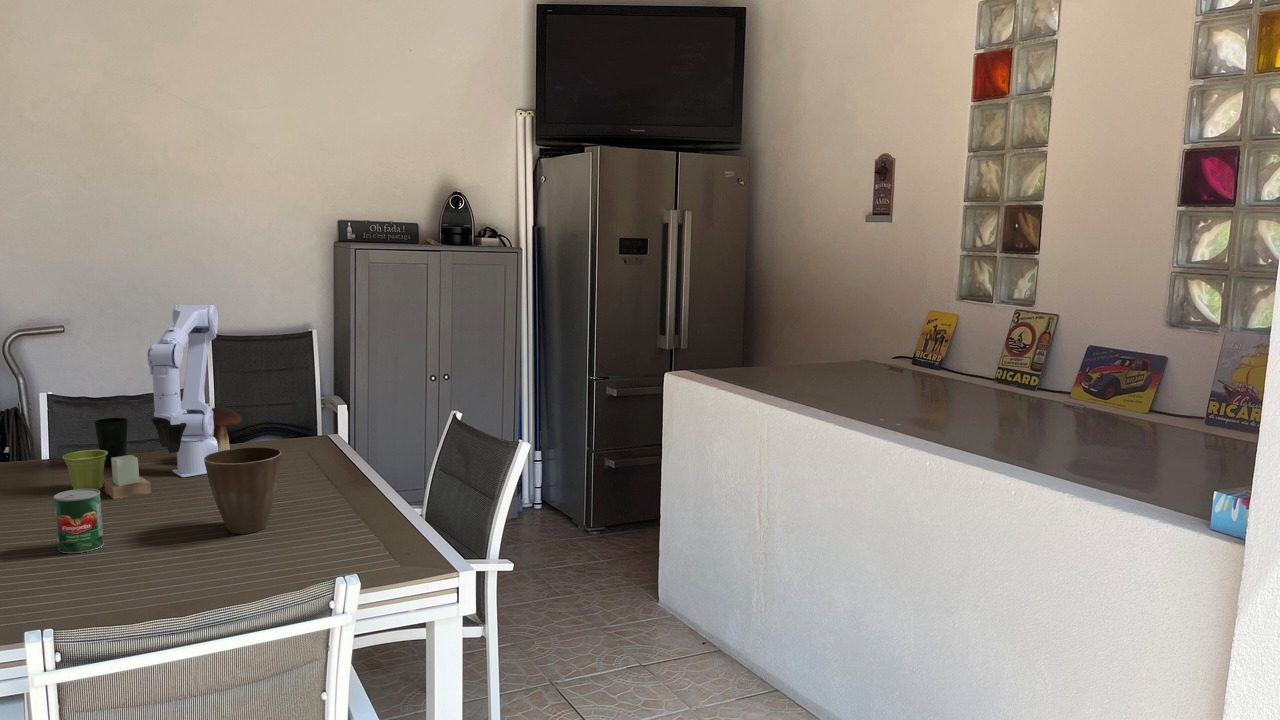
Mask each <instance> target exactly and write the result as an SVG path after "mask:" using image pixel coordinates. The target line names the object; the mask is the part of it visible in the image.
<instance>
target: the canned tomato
mask: <svg viewBox="0 0 1280 720" xmlns="http://www.w3.org/2000/svg"><path fill="white" fill-rule="evenodd" d="M53 502H54V503H53V504H54V506H53V507H54V512H55V513H54V514H55V517H54V518H55V527H56V530H55V531H56V539H57V540H56V541H57V551H58V550H59V551H61V552H67V553H75V552H84V551H90V550H94V549H98V548H100V547H101V548H103V547H104V546H105V543H104V534H103V533H104V531H103V518H102V504H101V503H102V502H101V491H100V489H98V490H96V489H76V490H73V489H70V490H66V491H65V490H64V491H61V492H59V493H56V494H54V496H53ZM103 545H104V546H103ZM102 546H103V547H102ZM101 548H100V549H101ZM98 550H99V549H98Z"/></svg>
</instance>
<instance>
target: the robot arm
mask: <svg viewBox="0 0 1280 720" xmlns="http://www.w3.org/2000/svg"><path fill="white" fill-rule="evenodd" d="M172 322H173V326H172V327H169V328H167V329H166V330H165V331H164V333H163V334H162V336H161V337H160V339H159V341H158V342H157V343H153V344H152V345H150V346H148V349H147V354H146V355H147V356H146V360H147V363H148V367H149V374H150V376H152V385H153V386H152V388H153V391H152V392H153V404H154V406H153V407H154V411H153V417H152V418H151V419H150V421H151V422H152V424H153V425H154V427H155V429H156V432H157V436H158V438H159V442H160V445H161V447H162V448H167V451H168V453H169V454H172V453H176V462H177V468H175V469H172V473H174V474H176V475H177V476H179V477H181V478H188V477H192V476H193V477H194V476H200V475H207V471H206V467H205V462H204V458H205V457H206V456H207V455H209V454H212V453H215V452H218V444H217V441H216V439H215V437H213V436H212V435H213V433H214V421H213V411H212V407H211V406H210V405H208V404H207V403H205V402H204V391H205V383H206V373H207V365H208V363H207V362H208V356H209V355H208V354H209V353H208V352H209V347H210V342H211V341H213V340H215V339H216V338H217V334H218V327H219V314H218V309H217V306H215V304H179V303H178V304H176V305H175V306H174V307H173V311H172ZM186 346H187V355H186V356H187V357H186V362H185V363H186V365H185V373H184V383H183V390H182V391H183V392H182V396H181V382H180V381H181V380H180V367H181V366H182V362H183V357H184V349H185V348H186ZM181 397H182V400H181Z"/></svg>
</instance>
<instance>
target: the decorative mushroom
mask: <svg viewBox="0 0 1280 720" xmlns="http://www.w3.org/2000/svg"><path fill="white" fill-rule="evenodd" d="M211 409H212V411H213V421H214V428H213V433H212V435H213V437H215V439H216V441H217V444H218V452H219V451H223V450H229V449H231V448H230V442H229V441H230V440H229V435H228V431H227V426H229V425H230V426H233V425H237V424H240V423H242V422H243V419H242V417H241V415H240V414H238V413H237V412H235V411H233V410H232V409H230V408H227V407H224V406H214V407H213V408H212V407H211Z"/></svg>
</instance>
